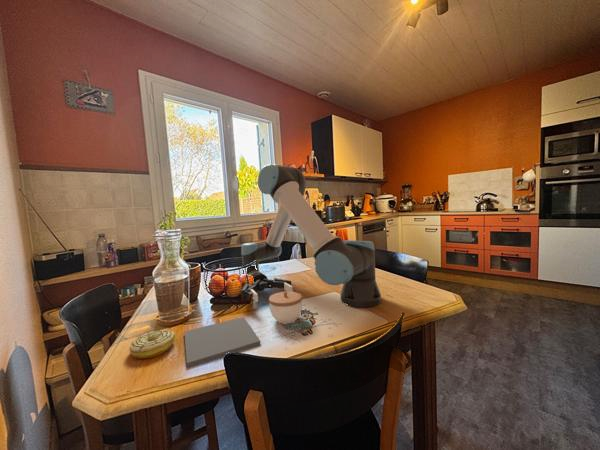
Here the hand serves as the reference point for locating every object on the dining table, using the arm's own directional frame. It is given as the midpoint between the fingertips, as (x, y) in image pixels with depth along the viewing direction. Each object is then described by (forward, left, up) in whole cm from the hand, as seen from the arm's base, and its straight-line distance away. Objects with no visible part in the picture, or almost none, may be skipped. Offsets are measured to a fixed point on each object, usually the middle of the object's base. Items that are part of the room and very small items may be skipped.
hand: (275, 294), depth 87 cm
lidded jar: (-5, +8, -6) cm, 11 cm away
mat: (+13, +19, -6) cm, 24 cm away
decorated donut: (+30, +23, -6) cm, 39 cm away
